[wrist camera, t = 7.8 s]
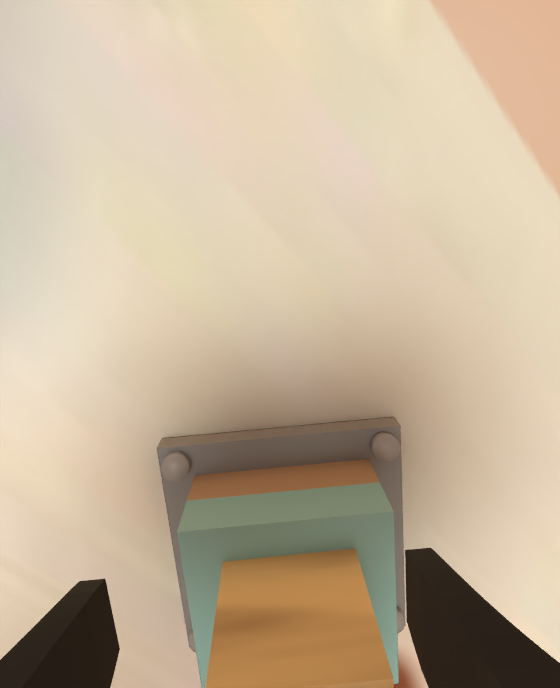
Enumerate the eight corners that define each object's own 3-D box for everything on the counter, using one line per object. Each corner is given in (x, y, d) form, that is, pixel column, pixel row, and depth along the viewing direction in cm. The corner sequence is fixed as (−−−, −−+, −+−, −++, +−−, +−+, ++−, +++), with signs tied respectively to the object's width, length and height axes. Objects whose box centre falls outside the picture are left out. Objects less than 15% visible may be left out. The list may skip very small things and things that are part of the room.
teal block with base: (399, 609, 23) (435, 707, 18) (192, 630, 23) (172, 734, 18) (393, 416, 20) (433, 470, 16) (162, 438, 20) (129, 499, 16)
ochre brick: (361, 655, 17) (398, 815, 13) (237, 668, 17) (226, 834, 12) (355, 548, 16) (393, 678, 11) (222, 561, 16) (203, 698, 11)
